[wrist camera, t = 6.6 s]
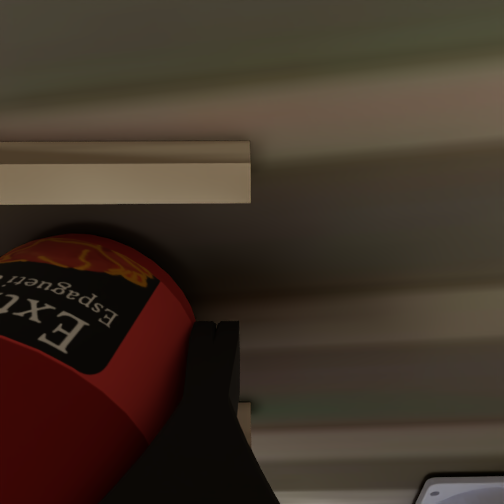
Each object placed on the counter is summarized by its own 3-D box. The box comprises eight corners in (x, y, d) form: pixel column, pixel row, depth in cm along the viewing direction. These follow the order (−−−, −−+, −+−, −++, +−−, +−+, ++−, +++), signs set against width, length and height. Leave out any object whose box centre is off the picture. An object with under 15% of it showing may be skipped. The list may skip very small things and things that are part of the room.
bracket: (250, 415, 17) (251, 467, 15) (-20, 419, 16) (-58, 472, 14) (249, 140, 10) (250, 163, 8) (-198, 142, 10) (-316, 165, 8)
